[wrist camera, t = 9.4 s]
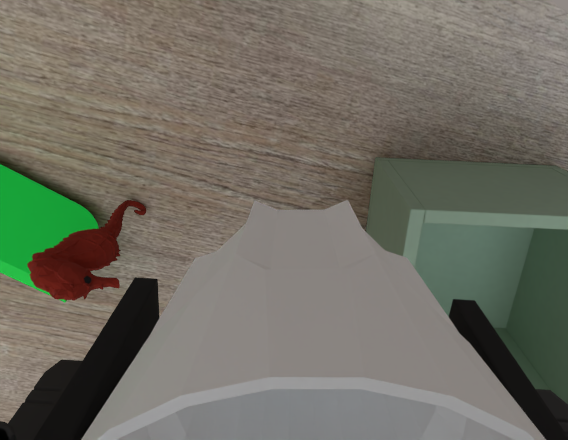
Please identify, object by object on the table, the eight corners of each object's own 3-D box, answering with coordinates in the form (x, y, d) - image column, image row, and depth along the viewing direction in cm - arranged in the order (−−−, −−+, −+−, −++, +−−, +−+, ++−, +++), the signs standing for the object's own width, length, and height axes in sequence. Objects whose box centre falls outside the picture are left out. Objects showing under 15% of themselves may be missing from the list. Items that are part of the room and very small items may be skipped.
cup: (301, 109, 15) (320, 243, 5) (484, 295, 17) (705, 596, 8) (118, 296, 17) (-72, 588, 8) (299, 430, 20) (307, 765, 11)
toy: (159, 228, 40) (92, 331, 26) (103, 199, 39) (3, 291, 25) (170, 207, 40) (107, 302, 26) (114, 177, 38) (15, 259, 25)
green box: (375, 157, 38) (410, 209, 27) (556, 165, 38) (666, 221, 27) (354, 323, 44) (375, 419, 33) (508, 330, 44) (580, 428, 33)
